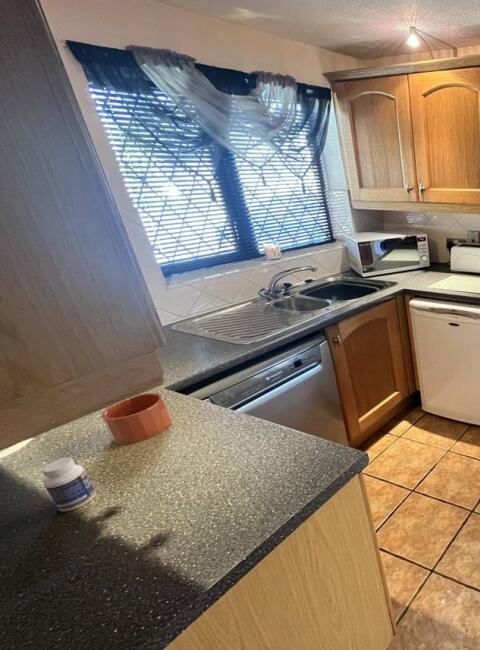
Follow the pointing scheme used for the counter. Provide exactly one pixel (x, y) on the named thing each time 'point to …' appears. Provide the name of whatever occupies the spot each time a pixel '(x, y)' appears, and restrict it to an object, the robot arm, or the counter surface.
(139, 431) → the pot
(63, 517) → the counter surface
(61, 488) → the pill bottle
